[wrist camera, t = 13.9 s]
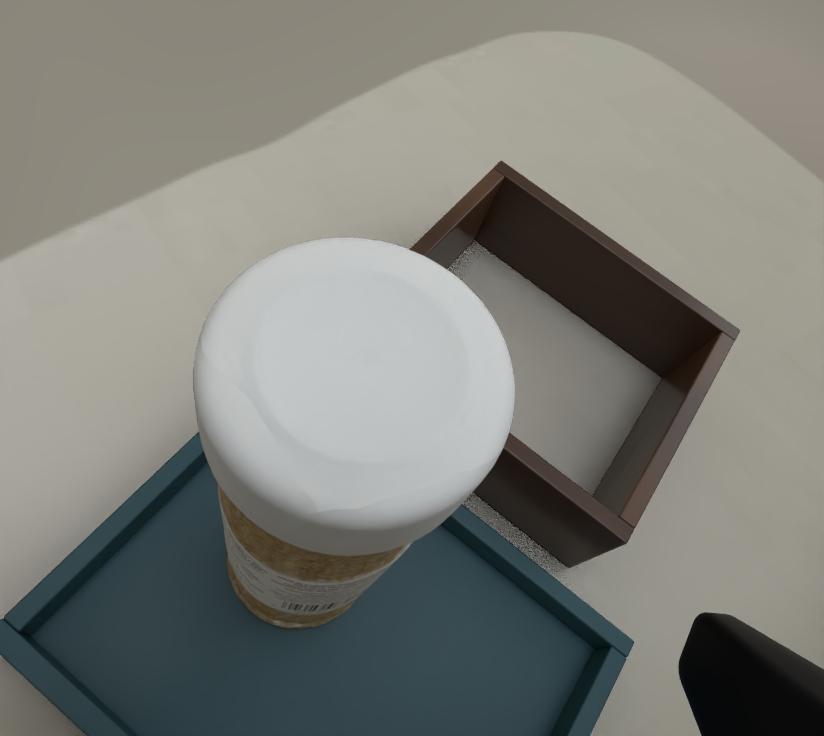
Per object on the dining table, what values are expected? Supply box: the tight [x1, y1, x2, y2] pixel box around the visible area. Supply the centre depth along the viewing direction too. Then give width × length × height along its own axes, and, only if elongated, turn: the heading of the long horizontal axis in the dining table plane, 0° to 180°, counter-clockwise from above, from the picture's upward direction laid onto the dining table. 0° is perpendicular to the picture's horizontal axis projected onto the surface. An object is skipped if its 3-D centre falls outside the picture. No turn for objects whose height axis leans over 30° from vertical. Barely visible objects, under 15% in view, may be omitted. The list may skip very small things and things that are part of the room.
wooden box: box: [409, 161, 740, 568], centre depth 24 cm, size 10×11×4 cm
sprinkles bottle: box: [193, 237, 515, 629], centre depth 15 cm, size 5×5×14 cm
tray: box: [0, 432, 634, 736], centre depth 19 cm, size 11×15×2 cm
